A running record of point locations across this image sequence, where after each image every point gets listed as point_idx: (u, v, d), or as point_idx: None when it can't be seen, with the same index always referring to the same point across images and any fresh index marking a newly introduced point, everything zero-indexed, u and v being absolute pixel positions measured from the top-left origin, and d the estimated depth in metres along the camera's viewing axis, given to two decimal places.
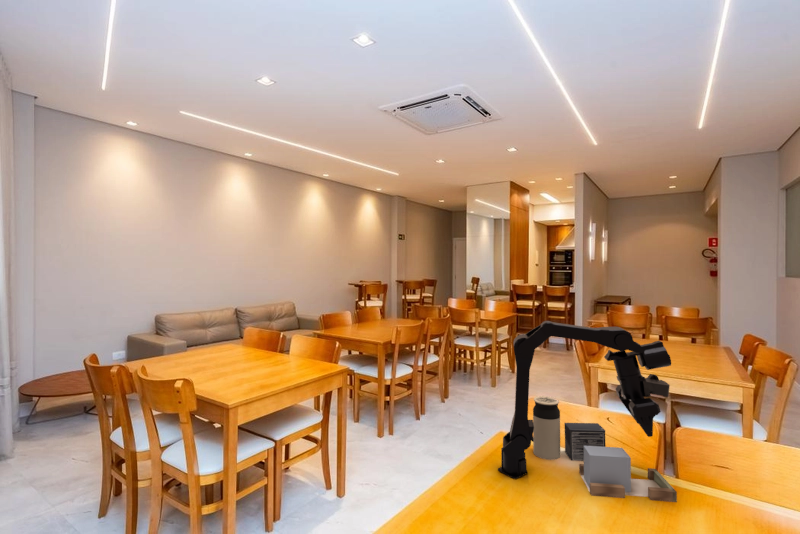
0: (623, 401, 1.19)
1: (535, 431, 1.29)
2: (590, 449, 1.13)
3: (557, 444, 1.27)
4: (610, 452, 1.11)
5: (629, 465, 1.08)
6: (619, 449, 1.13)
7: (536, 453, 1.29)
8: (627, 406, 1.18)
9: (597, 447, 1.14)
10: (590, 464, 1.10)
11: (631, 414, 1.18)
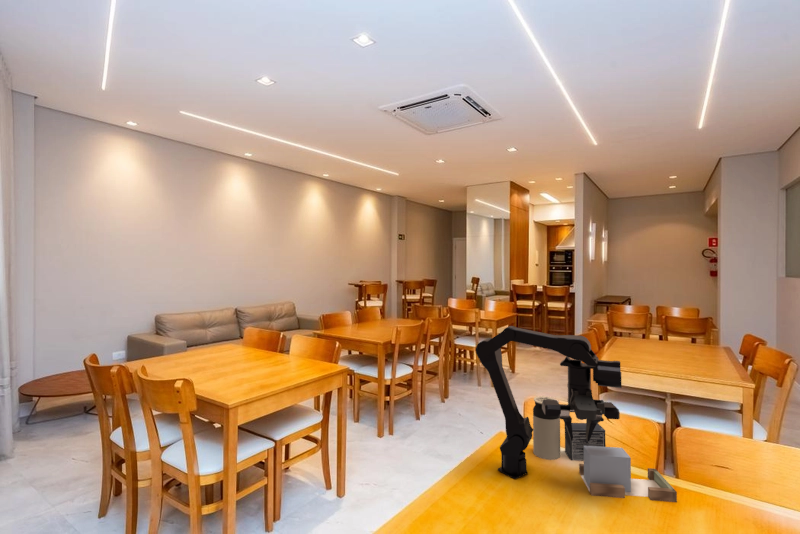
0: None
1: (535, 431, 1.29)
2: (590, 449, 1.13)
3: (557, 444, 1.27)
4: (610, 452, 1.11)
5: (629, 465, 1.08)
6: (619, 449, 1.13)
7: (536, 453, 1.29)
8: (586, 420, 1.14)
9: (597, 447, 1.14)
10: (590, 464, 1.10)
11: None
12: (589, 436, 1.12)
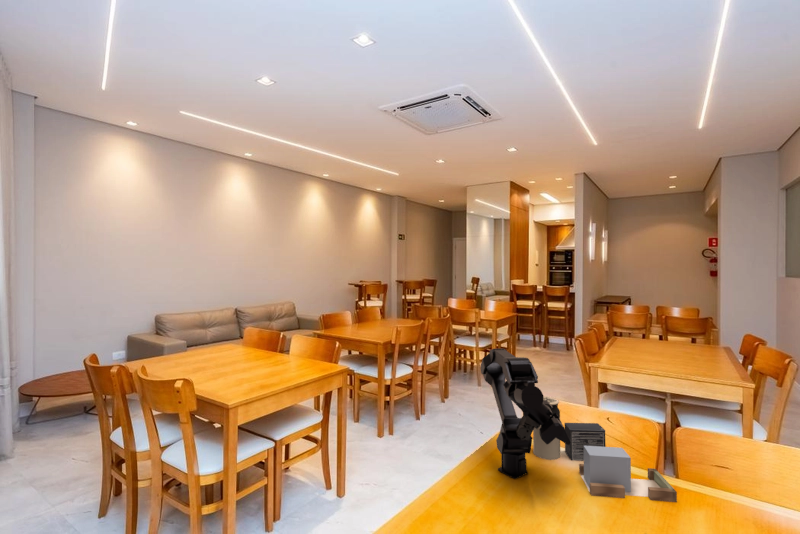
0: None
1: (535, 431, 1.29)
2: (590, 449, 1.13)
3: (557, 444, 1.27)
4: (610, 452, 1.11)
5: (629, 465, 1.08)
6: (619, 449, 1.13)
7: (536, 453, 1.29)
8: None
9: (597, 447, 1.14)
10: (590, 464, 1.10)
11: None
12: None
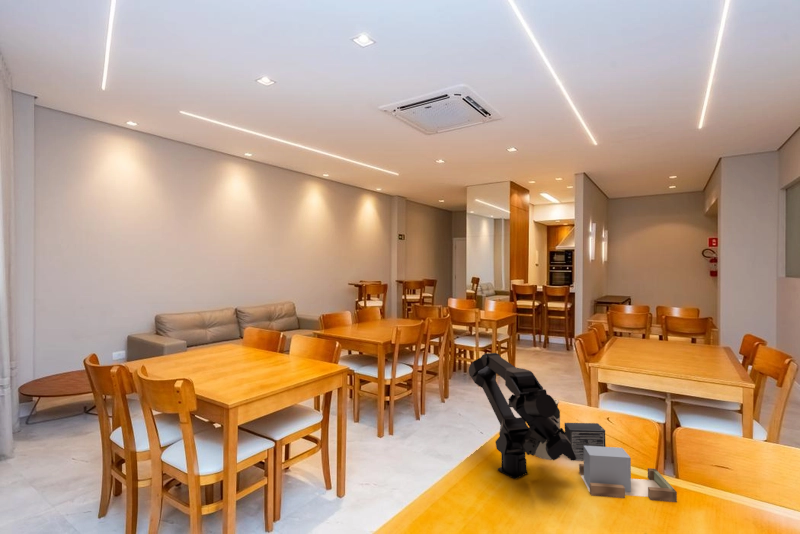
0: None
1: None
2: (590, 449, 1.13)
3: None
4: (610, 452, 1.11)
5: (629, 465, 1.08)
6: (619, 449, 1.13)
7: (536, 453, 1.29)
8: None
9: (597, 447, 1.14)
10: (590, 464, 1.10)
11: None
12: None
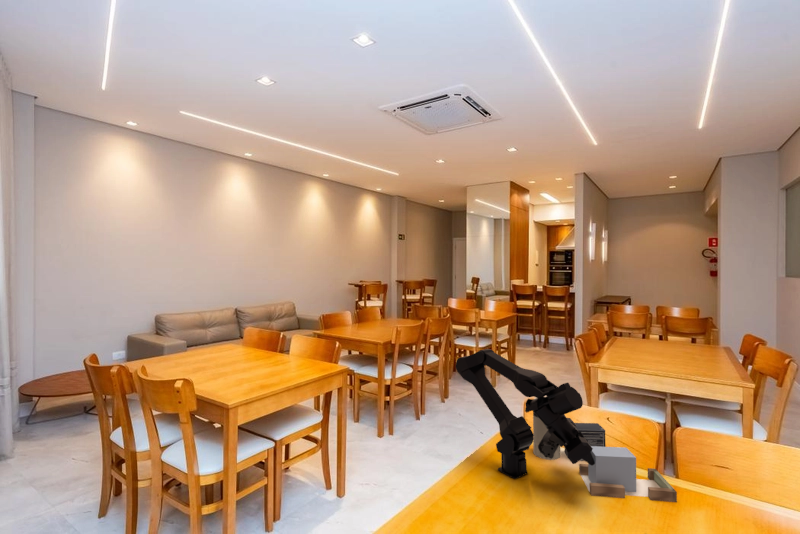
0: None
1: (535, 431, 1.29)
2: (595, 449, 1.13)
3: None
4: (615, 452, 1.11)
5: (634, 465, 1.08)
6: (623, 449, 1.13)
7: (536, 453, 1.29)
8: None
9: (602, 447, 1.14)
10: (596, 465, 1.09)
11: None
12: (586, 461, 1.10)
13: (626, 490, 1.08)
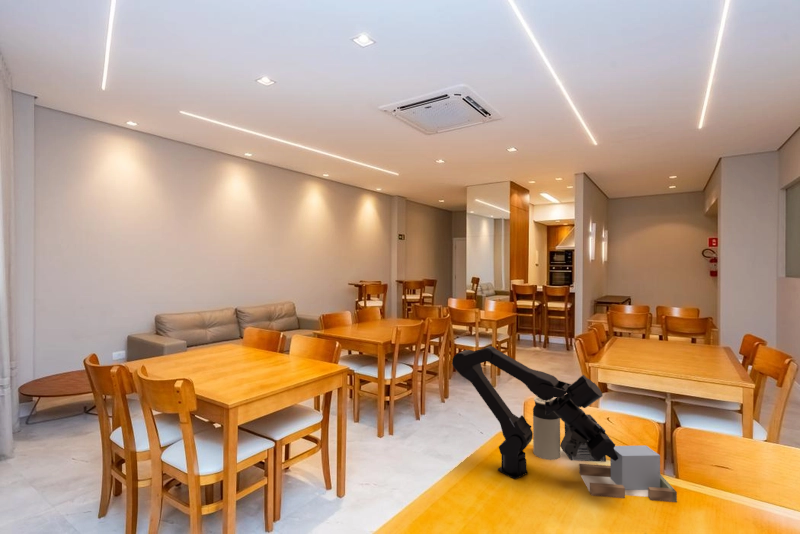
0: None
1: (535, 431, 1.29)
2: (619, 449, 1.13)
3: (557, 444, 1.27)
4: (638, 451, 1.12)
5: (658, 463, 1.09)
6: (644, 447, 1.14)
7: (536, 453, 1.29)
8: None
9: (624, 447, 1.14)
10: (622, 465, 1.09)
11: None
12: None
13: None
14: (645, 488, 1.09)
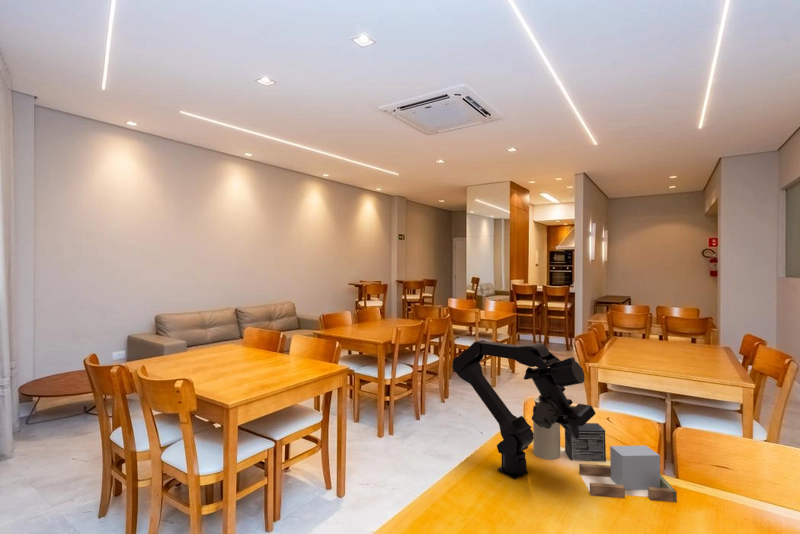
0: None
1: (535, 431, 1.29)
2: (619, 449, 1.13)
3: (557, 444, 1.27)
4: (638, 451, 1.12)
5: (658, 463, 1.09)
6: (644, 447, 1.14)
7: (536, 453, 1.29)
8: None
9: (624, 447, 1.14)
10: (622, 465, 1.09)
11: None
12: (573, 435, 1.13)
13: None
14: (645, 488, 1.09)
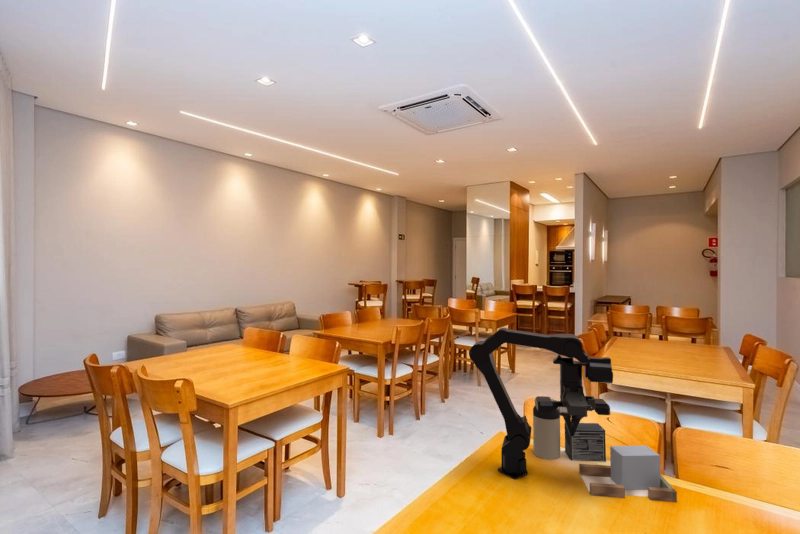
0: None
1: (535, 431, 1.29)
2: (619, 449, 1.13)
3: (557, 444, 1.27)
4: (638, 451, 1.12)
5: (658, 463, 1.09)
6: (644, 447, 1.14)
7: (536, 453, 1.29)
8: (571, 415, 1.18)
9: (624, 447, 1.14)
10: (622, 465, 1.09)
11: (570, 424, 1.17)
12: (573, 431, 1.15)
13: None
14: (645, 488, 1.09)
